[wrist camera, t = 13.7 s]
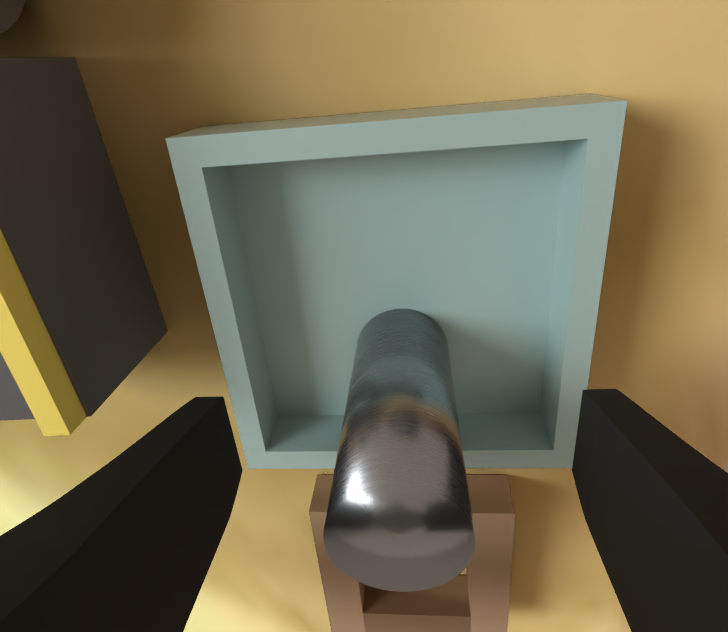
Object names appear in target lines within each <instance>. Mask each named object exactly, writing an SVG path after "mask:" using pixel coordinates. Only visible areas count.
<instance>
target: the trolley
mask: <svg viewBox="0 0 728 632" xmlns="http://www.w3.org/2000/svg"><path fill="white" fill-rule="evenodd" d="M24 4H25V0H0V34H1V33H3V32H4V31H6V30H8V29H9V28H10V27H11V26H12V25H13V24H14V23H15V22H16V21H17V19H18V18H19V16H20V15H21V13H22V10H23V7H24Z"/></svg>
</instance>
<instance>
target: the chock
mask: <svg viewBox="0 0 728 632" xmlns="http://www.w3.org/2000/svg"><path fill="white" fill-rule="evenodd" d="M166 332H167V328H166V325H165V322H164V319H163V316H162V313H161V310H160V307H159V304H158V301H157V298H156V296H155V293H154V290H153V287H152V284H151V281H150V278H149V275H148V272H147V269H146V266H145V263H144V260H143V257H142V254H141V251H140V248H139V245H138V242H137V240H136V237H135V234H134V231H133V228H132V225H131V222H130V219H129V216H128V213H127V210H126V207H125V204H124V201H123V198H122V195H121V192H120V189H119V186H118V183H117V181H116V178H115V175H114V172H113V169H112V166H111V163H110V160H109V157H108V154H107V151H106V148H105V145H104V142H103V139H102V136H101V133H100V130H99V127H98V124H97V122H96V119H95V116H94V113H93V110H92V107H91V104H90V101H89V98H88V95H87V92H86V89H85V86H84V83H83V80H82V77H81V74H80V71H79V68H78V66H77V63H76V60H75V58H71V57H0V420H21V419H36V421H37V423H38V425H39V427H40V429H41V431H42V433H43V435H44V436H51V435H70V434H71V433H72V432H73V431H74V430H75V429H76V428H77V427H78V426H79V424H80V423H81V422H82V421H83V420H84V419H85V418H86V417H87V416H92V415H93V413H94V412H95V411H96V410H97V409H98V408H99V407H100V406H101V405H102V403H103V402H104V401H105V400H106V399H107V398H108V397H109V396H110V395H111V393H112V392H113V391H114V390H115V389H116V388H117V387H118V386H119V385H120V383H121V382H122V381H123V380H124V379H125V378H126V377H127V376H128V375H129V373H130V372H131V371H132V370H133V369H134V368H135V367H136V366H137V365H138V363H139V362H140V361H141V360H142V359H143V358H144V357H145V356H146V355H147V353H148V352H149V351H150V350H151V349H152V348H153V347H154V346H155V345H156V343H157V342H158V341H159V340H160V339H161V338H162V337H163V336H164V335H165V334H166Z"/></svg>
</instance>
